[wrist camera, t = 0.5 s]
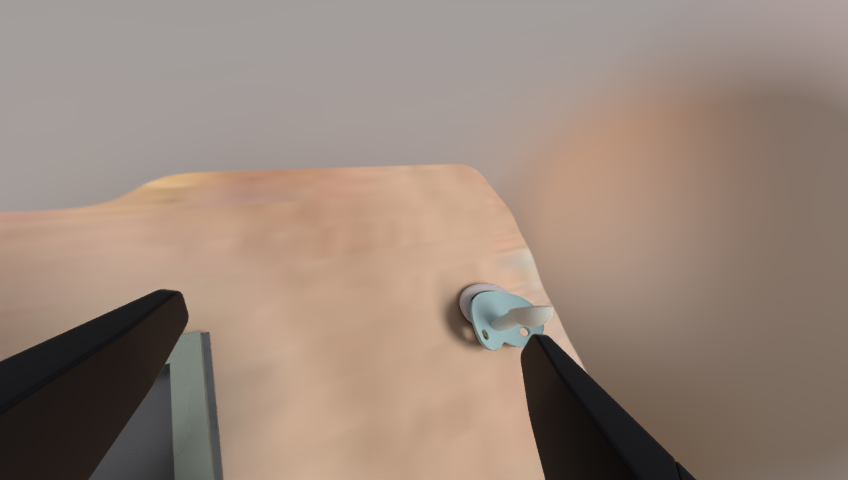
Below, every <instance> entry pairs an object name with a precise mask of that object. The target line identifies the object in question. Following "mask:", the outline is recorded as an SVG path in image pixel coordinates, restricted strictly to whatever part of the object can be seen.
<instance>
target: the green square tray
mask: <svg viewBox="0 0 848 480" xmlns="http://www.w3.org/2000/svg"><path fill="white" fill-rule="evenodd" d="M89 480H223V471H222V460H221V450H220V439H219V428H218V418H217V407H216V396H215V386H214V375H213V364H212V354H211V343H210V334H209V332H206V333H202V334H201V333H200V331H198V332H193V333H188V334H184V335H181V336H180V338H179V340H178V341H177V343H176V345H175V347H174V349H173V351H172V352H171V354H170V356H169V358H168V360H167V362H166V363H165V365H164V367H163V369H162V371H161V373H160V374H159V376H158V378H157V379H156V381H155V383H154V385H153V386H152V388H151V389H150V391H149V392H148V394H147V395H146V397H145V398H144V400H143V401H142V403H141V404H140V406H139V407H138V408H137V410H136V411H135V413H134V414H133V416H132V417H131V419H130V420H129V422H128V423H127V425H126V426H125V427H124V429H123V430H122V432H121V433H120V435H119V436H118V438H117V439H116V441H115V442H114V443H113V445H112V446H111V448H110V449H109V451H108V452H107V454H106V455H105V457H104V458H103V460H102V461H101V462H100V464H99V465H98V467H97V468H96V470H95V471H94V473H93V474H92V476H91V477H90V478H89Z"/></svg>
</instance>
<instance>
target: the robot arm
mask: <svg viewBox="0 0 848 480" xmlns="http://www.w3.org/2000/svg"><path fill="white" fill-rule="evenodd" d="M187 322H188V311H187V308H186V304H185V301H184V297H183V294H182V293H181V292H179V291H175V290H166V289H160V290H157V291H155V292H152V293H150V294H148V295H146V296H144V297H141V298H139V299H137V300H135V301H133V302H130V303H128V304H126V305H124V306H122V307H119V308H117V309H115V310H113V311H111V312H108V313H106V314H104V315H102V316H100V317H97V318H95V319H93V320H91V321H89V322H86V323H84V324H82V325H80V326H78V327H75V328H73V329H71V330H69V331H67V332H64V333H62V334H60V335H58V336H56V337H53V338H51V339H49V340H47V341H45V342H42V343H40V344H38V345H36V346H34V347H31V348H29V349H27V350H25V351H22V352H20V353H18V354H16V355H14V356H11V357H9V358H7V359H5V360H3V361H0V480H89V478H90V477H91V476H92V474H93V473H94V471H95V470H96V468H97V467H98V465H99V464H100V462H101V461H102V460H103V458H104V457H105V455H106V454H107V452H108V451H109V449H110V448H111V446H112V445H113V443H114V442H115V441H116V439H117V438H118V436H119V435H120V433H121V432H122V430H123V429H124V427H125V426H126V425H127V423H128V422H129V420H130V419H131V417H132V416H133V414H134V413H135V411H136V410H137V408H138V407H139V406H140V404H141V403H142V401H143V400H144V398H145V397H146V395H147V394H148V392H149V391H150V389H151V388H152V386H153V385H154V383H155V381H156V379H157V378H158V376H159V374H160V373H161V371H162V369H163V367H164V365H165V363H166V362H167V360H168V358H169V356H170V354H171V352H172V351H173V349H174V347H175V345H176V343H177V341H178V340H179V338H180V336H181V334H182V332H183V331H184V329H185V327H186V325H187ZM521 366H522V372H523V379H524V386H525V392H526V399H527V405H528V411H529V417H530V421H531V425H532V429H533V433H534V437H535V441H536V445H537V449H538V453H539V457H540V460H541V464H542V468H543V472H544V476H545V480H696V479H695V478H694V477H693V476H692V475H691V474H690V473H689V472H688V471H687V470H686V469H685V468H684V467H683V466H682V465H681V464H680V463H678V462H676V461H675V459H674V458H673V457H672V456H671V455H670V454H669V453H668V452H667V451H666V450H665V449H664V448H663V447H662V446H661V445H660V444H659V443H658V442H657V441H656V440H655V439H654V438H653V437H652V436H651V435H650V434H649V433H648V432H647V431H646V430H645V429H644V428H643V427H642V426H640V425H639V424H638V423H637V422H636V421H635V420H634V419H633V418H632V417H631V416H630V415H629V414H628V413H627V412H626V411H625V410H624V409H623V408H622V407H621V406H620V405H619V404H618V403H617V402H616V401H615V400H614V399H613V398H612V397H611V396H610V395H608V393H607V392H606V391H605V390H604V389H602V388H601V387H600V386H599V385H598V384H597V383H596V382H595V381H594V380H593V379H592V378H591V377H590V376H589V375H588V374H587V373H586V372H585V371H584V370H583V369H582V368H581V367H580V366H579V365H578V364H577V363H576V362H575V361H574V360H573V359H572V358H571V357H570V356H569V355H568V354H567V353H566V352H565V351H563V350H562V349H561V348H560V347H559V346H558V345H557V344H556V343H555V342H554V341H553V340H552V339H551V338H550V337H549V336H547V335H542V334H532V335H531V336H530V338H529V340H528V342H527V343H526V345H525V347H524V349H523V351H522V353H521Z"/></svg>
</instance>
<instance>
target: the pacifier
mask: <svg viewBox="0 0 848 480" xmlns="http://www.w3.org/2000/svg"><path fill="white" fill-rule="evenodd" d="M479 293H480V294H479ZM476 294H478V295H477V296H476V297H475V298H474V299H473V300H472V302H471V299H472V297H473V296H474V295H476ZM459 302H460V309H461V311H462V314H463V315H464V316H465V317H466V319H467V320H468V321H470V322H471V323H472V325H473V328H474V331H475V334H476V336H477V338H478V340H479V342H480V343H481V345H482V346H483V347H484V348H486V349H487V350H497V349H499V348H500V347H501V346H502V344H503V343H506V344H508V345H511V346H514V347H525V345H526V343H527V342H528V340H529V338H530V336H531V335H532V334H543V330H544V324H545V323H547V322H548V321H549V320H550V319H551V317H552V315H553V307H552V306H533V305H532V304H531V303H530V302H528V301H527V300H525V299H523V298H522V297H519V296H517V295H514V294H510V293H509V292H508V291H507V290H505V289H503V288H501V287H500V286H497V285H494V284H488V283H480V284H475V285H472V286H469V287H468V288H467V289H465V290H464V291H463V293H462V294H461V297H460V301H459ZM470 302H471V303H470ZM521 327H522V328H525V329H526V330H527V331H528V335H527V336H523V335H521V333H520V328H521ZM483 336H485V337H487V339H485V338H484V337H483Z"/></svg>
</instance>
